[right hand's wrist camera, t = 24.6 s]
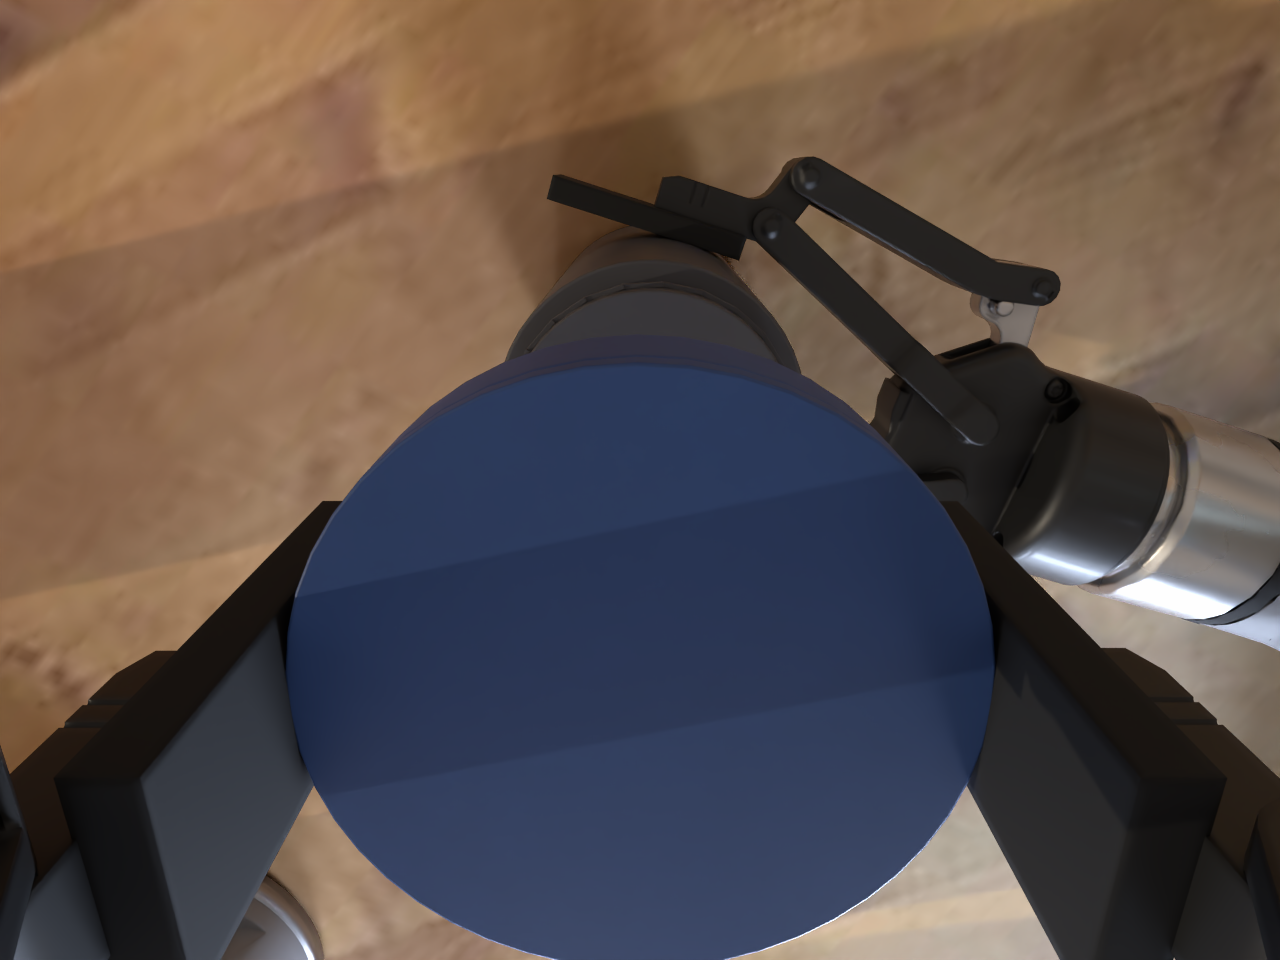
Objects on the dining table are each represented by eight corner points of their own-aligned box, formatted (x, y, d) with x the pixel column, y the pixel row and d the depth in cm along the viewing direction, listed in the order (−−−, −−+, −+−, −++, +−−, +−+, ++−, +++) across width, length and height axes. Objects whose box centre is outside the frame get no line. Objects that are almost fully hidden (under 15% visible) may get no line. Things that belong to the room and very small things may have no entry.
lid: (212, 486, 11) (139, 541, 10) (833, 219, 10) (871, 228, 8) (502, 936, 14) (484, 1038, 12) (1014, 768, 13) (1069, 856, 11)
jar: (515, 296, 35) (418, 389, 20) (678, 183, 33) (703, 193, 19) (623, 449, 37) (607, 634, 23) (780, 350, 36) (875, 479, 21)
